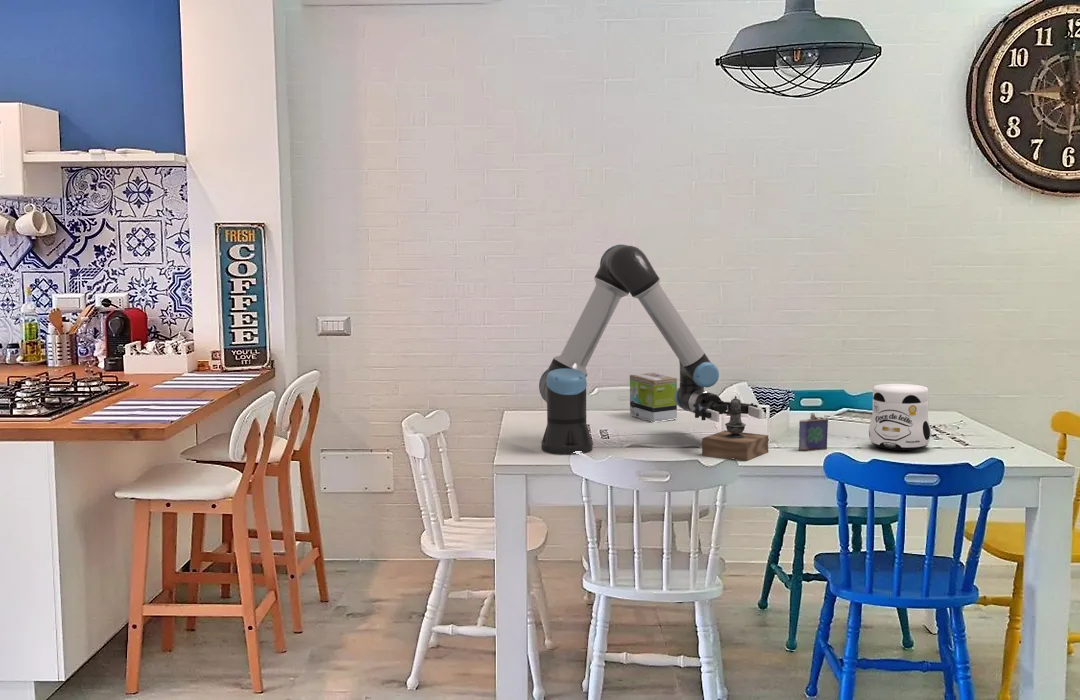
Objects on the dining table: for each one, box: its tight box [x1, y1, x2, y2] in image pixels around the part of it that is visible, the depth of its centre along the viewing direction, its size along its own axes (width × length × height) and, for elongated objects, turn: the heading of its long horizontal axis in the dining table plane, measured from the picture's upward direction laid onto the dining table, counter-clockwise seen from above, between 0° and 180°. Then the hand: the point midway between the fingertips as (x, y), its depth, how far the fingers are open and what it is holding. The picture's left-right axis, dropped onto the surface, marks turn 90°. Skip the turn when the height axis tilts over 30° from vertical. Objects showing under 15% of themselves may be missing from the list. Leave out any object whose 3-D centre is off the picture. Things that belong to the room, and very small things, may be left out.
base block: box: [701, 429, 769, 462], centre depth 320 cm, size 14×14×5 cm
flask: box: [798, 412, 829, 452], centre depth 324 cm, size 9×3×11 cm, turn 109°
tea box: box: [629, 372, 678, 423], centre depth 378 cm, size 15×10×15 cm, turn 28°
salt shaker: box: [724, 395, 747, 438], centre depth 319 cm, size 6×6×12 cm
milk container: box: [868, 383, 932, 451], centre depth 325 cm, size 17×17×18 cm
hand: (739, 415), depth 317 cm, fingers open, 13 cm apart
